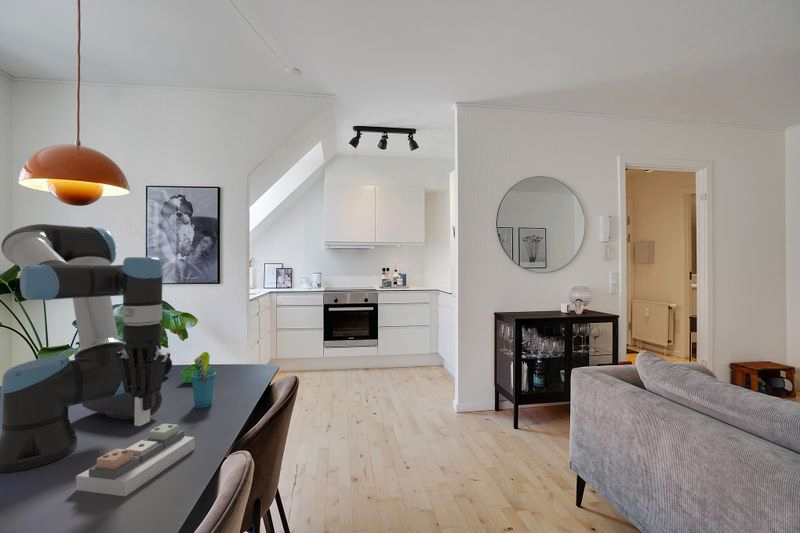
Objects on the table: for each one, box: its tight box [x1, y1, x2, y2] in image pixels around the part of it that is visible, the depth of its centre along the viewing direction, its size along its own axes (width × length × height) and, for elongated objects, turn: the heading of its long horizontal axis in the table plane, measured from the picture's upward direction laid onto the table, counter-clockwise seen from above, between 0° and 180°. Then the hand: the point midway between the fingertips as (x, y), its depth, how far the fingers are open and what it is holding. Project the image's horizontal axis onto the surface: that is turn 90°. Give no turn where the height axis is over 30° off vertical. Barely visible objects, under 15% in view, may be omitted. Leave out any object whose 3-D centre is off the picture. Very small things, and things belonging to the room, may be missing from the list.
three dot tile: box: [96, 447, 133, 470], centre depth 78 cm, size 4×4×2 cm
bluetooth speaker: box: [81, 391, 163, 421], centre depth 114 cm, size 23×9×10 cm, turn 74°
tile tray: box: [75, 429, 196, 497], centre depth 85 cm, size 12×20×5 cm, turn 170°
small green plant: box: [180, 351, 212, 384], centre depth 151 cm, size 11×9×11 cm
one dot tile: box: [125, 439, 158, 454], centre depth 85 cm, size 4×4×2 cm
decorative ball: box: [163, 356, 173, 377], centre depth 153 cm, size 10×10×10 cm
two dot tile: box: [148, 423, 179, 441], centre depth 91 cm, size 4×4×2 cm
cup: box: [191, 357, 217, 409], centre depth 124 cm, size 14×8×15 cm, turn 43°
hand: (142, 423), depth 85 cm, fingers closed
